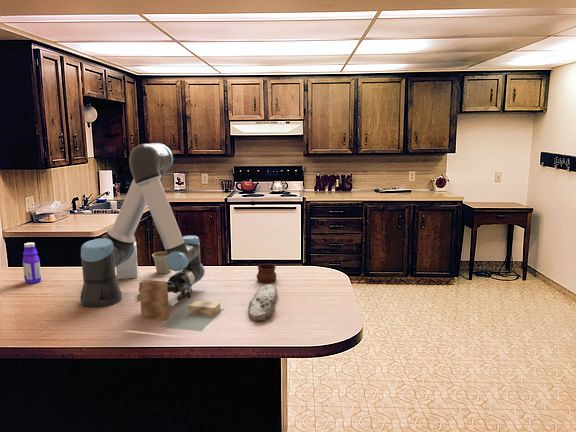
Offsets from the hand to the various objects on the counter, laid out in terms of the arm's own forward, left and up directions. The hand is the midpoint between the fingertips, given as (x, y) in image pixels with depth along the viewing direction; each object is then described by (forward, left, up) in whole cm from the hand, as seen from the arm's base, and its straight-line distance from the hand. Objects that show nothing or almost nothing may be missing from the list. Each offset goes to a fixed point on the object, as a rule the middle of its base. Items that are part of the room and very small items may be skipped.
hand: (153, 300), depth 166 cm
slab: (-1, +1, -7) cm, 8 cm away
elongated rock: (+33, +23, -8) cm, 41 cm away
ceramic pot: (+25, +52, -8) cm, 58 cm away
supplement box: (-39, +44, -8) cm, 59 cm away
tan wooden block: (+14, +10, -7) cm, 19 cm away
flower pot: (-26, +53, -8) cm, 60 cm away
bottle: (-75, +27, -7) cm, 80 cm away
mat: (+12, +4, -7) cm, 15 cm away
